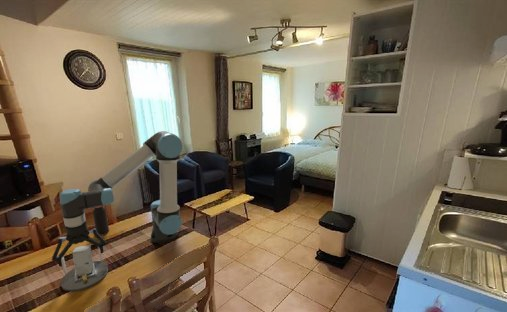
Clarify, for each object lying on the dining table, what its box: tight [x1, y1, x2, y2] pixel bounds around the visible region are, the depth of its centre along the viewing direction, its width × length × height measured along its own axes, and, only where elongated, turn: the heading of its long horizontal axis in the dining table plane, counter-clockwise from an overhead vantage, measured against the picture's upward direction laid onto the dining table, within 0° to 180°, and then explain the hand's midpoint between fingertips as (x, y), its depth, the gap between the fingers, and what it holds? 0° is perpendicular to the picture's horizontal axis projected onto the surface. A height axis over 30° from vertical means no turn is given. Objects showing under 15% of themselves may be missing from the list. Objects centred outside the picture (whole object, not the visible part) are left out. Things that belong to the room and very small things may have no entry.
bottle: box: [92, 205, 110, 236], centre depth 146 cm, size 7×7×20 cm
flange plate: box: [60, 260, 109, 293], centre depth 110 cm, size 18×18×6 cm
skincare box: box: [72, 245, 94, 275], centre depth 109 cm, size 6×4×12 cm
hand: (83, 265), depth 110 cm, fingers open, 13 cm apart
